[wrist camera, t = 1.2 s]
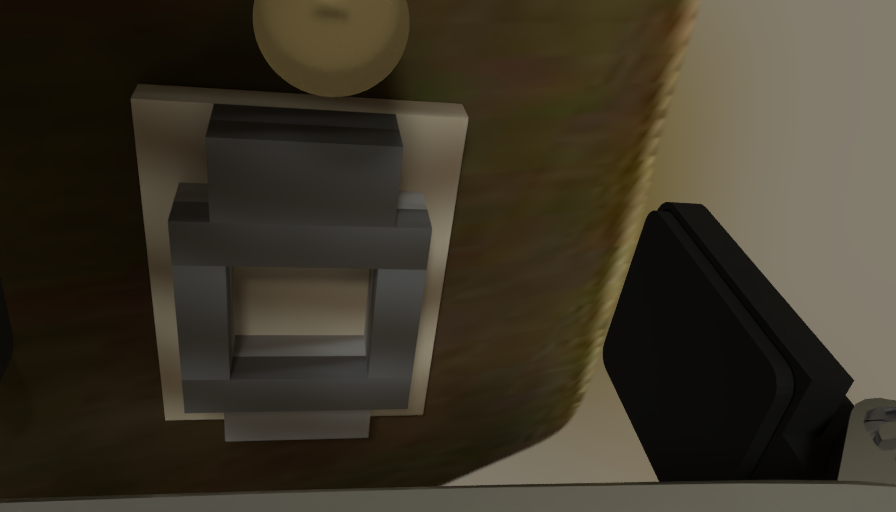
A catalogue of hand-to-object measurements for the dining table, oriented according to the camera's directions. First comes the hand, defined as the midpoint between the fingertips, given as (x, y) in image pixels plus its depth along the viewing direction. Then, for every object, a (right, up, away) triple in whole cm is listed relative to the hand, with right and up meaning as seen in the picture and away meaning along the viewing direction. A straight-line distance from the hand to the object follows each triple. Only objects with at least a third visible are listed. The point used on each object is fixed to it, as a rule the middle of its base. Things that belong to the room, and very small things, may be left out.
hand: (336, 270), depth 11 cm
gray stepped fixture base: (-5, 0, +24) cm, 25 cm away
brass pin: (-3, +12, +17) cm, 21 cm away
